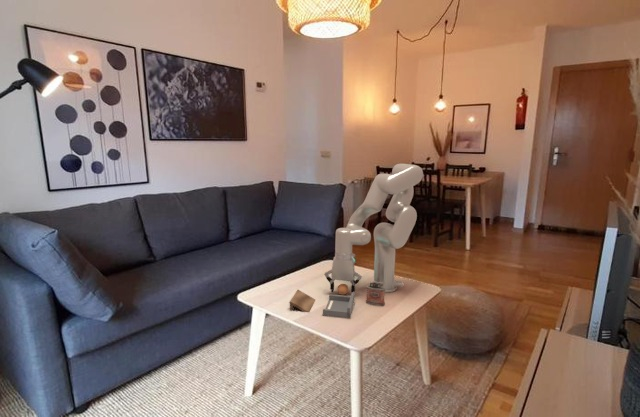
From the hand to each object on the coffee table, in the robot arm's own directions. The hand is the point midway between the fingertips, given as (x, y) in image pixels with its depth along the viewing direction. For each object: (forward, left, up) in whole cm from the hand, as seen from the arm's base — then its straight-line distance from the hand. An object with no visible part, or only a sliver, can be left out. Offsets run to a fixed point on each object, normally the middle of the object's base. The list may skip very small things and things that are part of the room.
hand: (342, 291), depth 161 cm
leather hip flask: (-15, +6, -2) cm, 16 cm away
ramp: (+15, +14, -1) cm, 20 cm away
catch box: (-1, +14, -1) cm, 14 cm away
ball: (0, 0, -1) cm, 1 cm away
